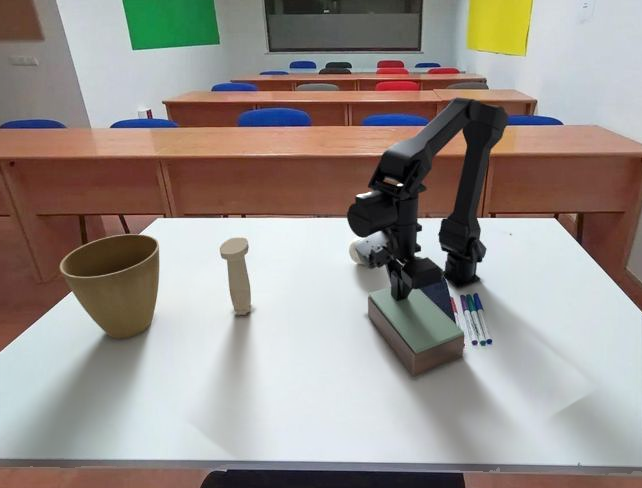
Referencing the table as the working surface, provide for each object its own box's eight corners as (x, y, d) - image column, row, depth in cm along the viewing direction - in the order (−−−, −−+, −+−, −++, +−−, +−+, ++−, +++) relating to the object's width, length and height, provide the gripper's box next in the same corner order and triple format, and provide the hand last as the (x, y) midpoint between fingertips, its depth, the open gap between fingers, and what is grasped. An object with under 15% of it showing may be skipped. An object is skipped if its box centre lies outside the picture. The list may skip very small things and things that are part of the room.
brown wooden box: (410, 301, 82) (411, 283, 81) (462, 356, 68) (464, 335, 67) (367, 315, 78) (367, 296, 77) (413, 376, 64) (414, 354, 62)
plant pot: (63, 342, 71) (37, 266, 66) (135, 295, 84) (119, 228, 79) (124, 364, 66) (101, 284, 61) (190, 311, 79) (177, 240, 74)
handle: (258, 301, 83) (250, 237, 77) (251, 321, 77) (242, 253, 71) (235, 301, 82) (226, 237, 77) (226, 322, 76) (215, 254, 71)
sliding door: (410, 283, 81) (411, 259, 79) (464, 335, 66) (466, 307, 65) (368, 295, 77) (368, 271, 75) (415, 354, 62) (417, 325, 61)
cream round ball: (369, 272, 93) (369, 247, 90) (344, 264, 96) (343, 239, 94) (383, 260, 98) (384, 236, 96) (359, 252, 102) (359, 229, 99)
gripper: (339, 208, 74) (341, 278, 80) (386, 252, 59) (385, 336, 64) (391, 198, 79) (389, 265, 84) (447, 236, 63) (441, 316, 69)
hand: (399, 292), depth 75 cm, fingers open, 3 cm apart
